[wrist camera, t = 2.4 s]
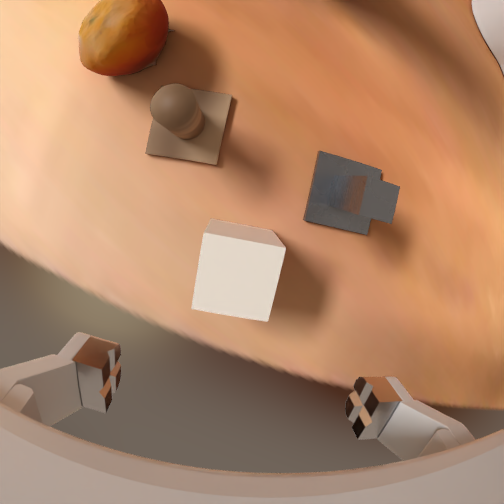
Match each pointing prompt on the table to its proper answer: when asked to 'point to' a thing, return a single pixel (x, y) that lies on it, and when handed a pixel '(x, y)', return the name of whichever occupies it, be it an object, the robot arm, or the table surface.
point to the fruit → (123, 36)
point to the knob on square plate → (187, 123)
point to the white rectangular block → (238, 270)
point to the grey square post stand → (349, 194)
